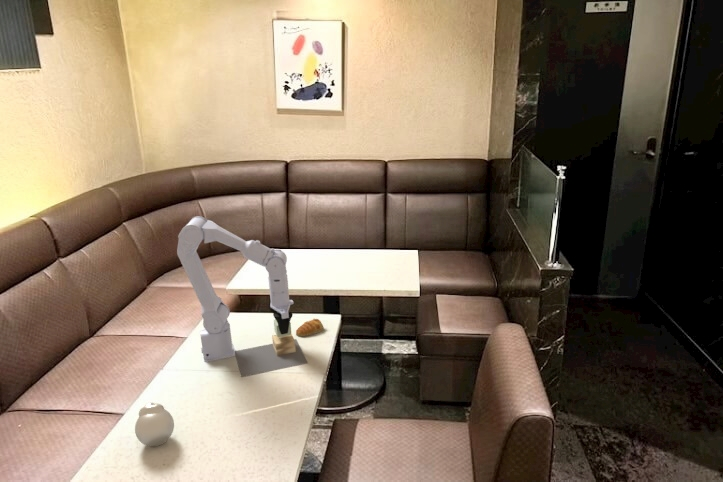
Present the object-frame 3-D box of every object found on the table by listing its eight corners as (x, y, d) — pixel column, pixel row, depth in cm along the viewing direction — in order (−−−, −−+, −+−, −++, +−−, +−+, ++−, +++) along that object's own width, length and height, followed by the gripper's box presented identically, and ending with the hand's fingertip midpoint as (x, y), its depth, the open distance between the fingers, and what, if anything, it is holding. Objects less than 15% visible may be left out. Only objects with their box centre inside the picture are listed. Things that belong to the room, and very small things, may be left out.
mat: (241, 378, 157) (241, 377, 157) (234, 352, 171) (234, 351, 171) (308, 364, 163) (308, 363, 163) (296, 340, 177) (296, 339, 177)
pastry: (303, 341, 177) (303, 330, 176) (291, 334, 182) (290, 324, 180) (325, 331, 183) (325, 321, 182) (313, 325, 188) (312, 315, 186)
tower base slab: (276, 355, 167) (276, 349, 167) (273, 346, 173) (272, 341, 172) (295, 351, 169) (295, 346, 169) (291, 343, 175) (291, 337, 174)
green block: (277, 337, 167) (276, 325, 165) (274, 331, 171) (273, 319, 169) (291, 334, 168) (290, 323, 167) (288, 328, 172) (287, 317, 171)
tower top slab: (276, 349, 167) (275, 344, 166) (272, 341, 172) (272, 335, 172) (295, 346, 169) (294, 340, 168) (291, 337, 174) (290, 332, 173)
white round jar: (179, 426, 137) (174, 392, 134) (172, 451, 128) (166, 416, 125) (142, 430, 136) (136, 396, 132) (133, 456, 127) (125, 420, 124)
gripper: (297, 296, 159) (300, 337, 164) (286, 279, 172) (290, 317, 177) (273, 300, 157) (277, 342, 161) (264, 283, 170) (268, 321, 174)
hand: (282, 329), depth 169 cm, fingers closed on green block, 4 cm apart
